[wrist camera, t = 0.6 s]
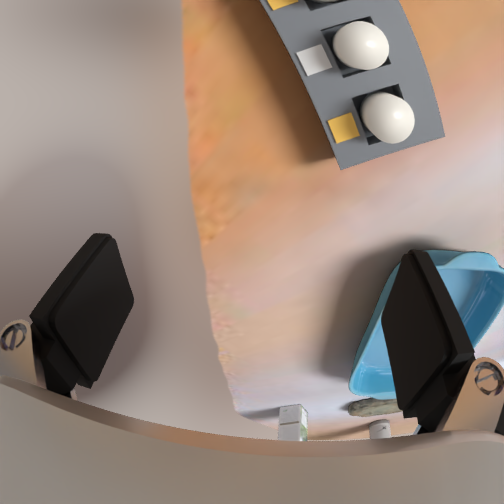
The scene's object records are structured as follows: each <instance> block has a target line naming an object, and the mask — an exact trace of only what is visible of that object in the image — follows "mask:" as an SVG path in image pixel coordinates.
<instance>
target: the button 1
mask: <svg viewBox="0 0 504 504" xmlns="http://www.w3.org/2000/svg"><path fill="white" fill-rule="evenodd" d="M312 1H314V2H317V3H322V4H329V3H334V2H336V1H338V0H312Z"/></svg>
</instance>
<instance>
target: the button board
mask: <svg viewBox="0 0 504 504" xmlns="http://www.w3.org/2000/svg"><path fill="white" fill-rule="evenodd" d="M259 1H260V3H261V4H262V6H263V8H264V9H265V11H266V13H267V14H268V16H269V18H270V20H271V21H272V23H273V25H274V27H275V29H276V30H277V32H278V34H279V36H280V38H281V40H282V41H283V43H284V45H285V47H286V49H287V51H288V53H289V55H290V57H291V59H292V61H293V63H294V65H295V67H296V69H297V71H298V73H299V75H300V77H301V79H302V81H303V83H304V85H305V87H306V90H307V92H308V94H309V96H310V98H311V100H312V103H313V105H314V107H315V109H316V112H317V114H318V116H319V119H320V121H321V123H322V126H323V128H324V130H325V133H326V135H327V138H328V140H329V143H330V145H331V148H332V150H333V153H334V155H335V158H336V160H337V162H338V165H339V167H340V169H341V170H343V169H346V168H348V167H351V166H354V165H357V164H360V163H363V162H366V161H369V160H372V159H375V158H378V157H381V156H384V155H387V154H390V153H394V152H397V151H400V150H403V149H406V148H409V147H412V146H416V145H419V144H422V143H425V142H429V141H432V140H435V139H439V138H442V137H445V133H444V129H443V125H442V120H441V116H440V112H439V108H438V105H437V101H436V97H435V94H434V90H433V87H432V84H431V80H430V77H429V74H428V71H427V68H426V65H425V62H424V59H423V57H422V54H421V51H420V48H419V46H418V43H417V41H416V38H415V36H414V33H413V31H412V28H411V26H410V24H409V21H408V19H407V17H406V15H405V13H404V10H403V8H402V6H401V4H400V2H399V0H338V1H336V2H334V3H329V4H322V3H317V2H314V1H312V0H259ZM356 21H363V22H368V23H371V24H373V25H375V26H376V27H378V28H379V29H380V30H381V31H382V32H383V33H384V35H385V36H386V38H387V41H388V44H389V54H388V57H387V59H386V61H385V62H384V63H383V64H382V65H381V66H379V67H377V68H375V69H371V70H363V69H357V68H352V67H348V66H346V65H344V64H343V63H341V62H340V61H339V60H338V59H337V58H336V56H335V55H334V53H333V50H332V38H333V36H334V34H335V32H336V31H337V30H339V29H340V28H342V27H344V26H345V25H347V24H349V23H352V22H356ZM376 91H383V92H387V93H389V94H392V95H394V96H397V97H399V98H401V99H403V100H404V101H406V102H407V103H408V104H409V106H410V107H411V109H412V111H413V113H414V119H415V123H414V128H413V130H412V132H411V134H410V135H409V137H407V138H406V139H405V140H404V141H402V142H399V143H394V144H391V143H386V142H383V141H381V140H379V139H378V138H377V137H376V136H375V135H374V134H373V133H372V132H371V131H370V130H369V129H368V128H367V127H366V126H365V125H364V124H363V122H362V120H361V117H360V106H361V103H362V101H363V99H364V98H365V97H366V96H367V95H369V94H370V93H372V92H376Z"/></svg>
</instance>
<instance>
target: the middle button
mask: <svg viewBox="0 0 504 504" xmlns="http://www.w3.org/2000/svg"><path fill="white" fill-rule="evenodd" d="M332 50H333V53H334V55H335V56H336V58H337V59H338V60H339V61H340V62H341V63H343V64H344V65H346V66H348V67H352V68H357V69H363V70H371V69H375V68H377V67H379V66H381V65H382V64H383V63H384V62H385V61H386V59H387V57H388V54H389V44H388V41H387V38H386V36H385V35H384V33H383V32H382V31H381V30H380V29H379V28H378V27H376V26H375V25H373V24H371V23H368V22H363V21H356V22H352V23H349V24H347V25H345V26H344V27H342V28H340V29H339V30H337V31H336V32H335V34H334V36H333V38H332Z"/></svg>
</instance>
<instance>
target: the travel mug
mask: <svg viewBox="0 0 504 504" xmlns="http://www.w3.org/2000/svg"><path fill="white" fill-rule="evenodd" d="M369 433H370V439H380V438H391V432H390V423H389V421H388V420H378V421H374V422H372V423H371V424H370V425H369Z"/></svg>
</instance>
